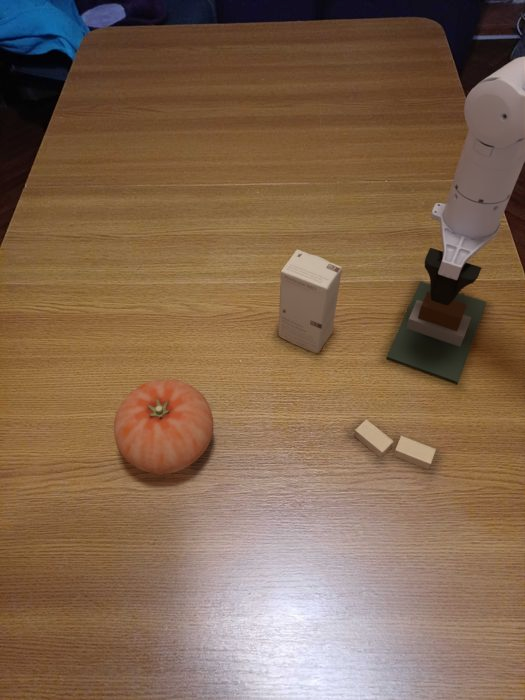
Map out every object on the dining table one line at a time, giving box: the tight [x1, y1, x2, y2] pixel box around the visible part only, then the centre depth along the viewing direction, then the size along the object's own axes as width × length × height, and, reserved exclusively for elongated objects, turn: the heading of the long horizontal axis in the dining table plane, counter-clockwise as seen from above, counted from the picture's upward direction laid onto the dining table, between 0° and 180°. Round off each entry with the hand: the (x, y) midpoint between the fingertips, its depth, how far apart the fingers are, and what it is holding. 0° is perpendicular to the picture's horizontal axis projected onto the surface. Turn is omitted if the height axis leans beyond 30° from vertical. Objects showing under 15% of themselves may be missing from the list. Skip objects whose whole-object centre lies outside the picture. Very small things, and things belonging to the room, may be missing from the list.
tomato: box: [113, 378, 214, 474], centre depth 67 cm, size 11×11×8 cm
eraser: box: [406, 292, 471, 347], centre depth 77 cm, size 7×4×4 cm, turn 64°
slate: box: [385, 280, 487, 385], centre depth 79 cm, size 9×14×1 cm, turn 154°
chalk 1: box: [353, 419, 394, 459], centre depth 69 cm, size 4×2×1 cm, turn 44°
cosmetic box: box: [277, 248, 343, 354], centre depth 74 cm, size 6×4×12 cm
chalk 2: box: [393, 435, 437, 470], centre depth 68 cm, size 4×2×1 cm, turn 64°
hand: (449, 278), depth 72 cm, fingers open, 7 cm apart
